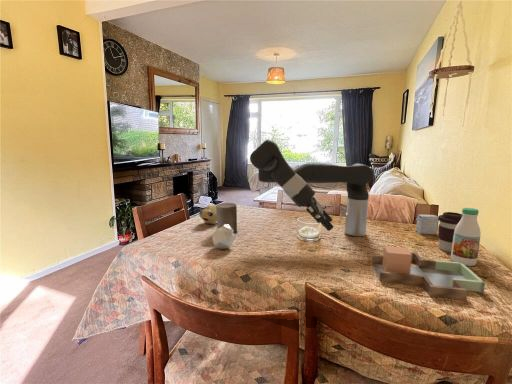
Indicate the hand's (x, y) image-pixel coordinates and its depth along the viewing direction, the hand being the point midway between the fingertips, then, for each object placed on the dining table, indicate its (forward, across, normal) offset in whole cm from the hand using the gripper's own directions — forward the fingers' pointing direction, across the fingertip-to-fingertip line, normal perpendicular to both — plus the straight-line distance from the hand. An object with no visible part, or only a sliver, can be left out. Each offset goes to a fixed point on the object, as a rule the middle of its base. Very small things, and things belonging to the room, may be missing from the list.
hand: (330, 225), depth 95 cm
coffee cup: (+45, -29, +24) cm, 59 cm away
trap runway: (+32, 0, +10) cm, 33 cm away
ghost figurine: (-18, -10, -41) cm, 46 cm away
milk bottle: (+45, -17, +23) cm, 53 cm away
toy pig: (-31, -41, -54) cm, 74 cm away
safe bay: (+39, 0, +17) cm, 42 cm away
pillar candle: (-22, -29, -44) cm, 57 cm away
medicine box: (+44, -50, +22) cm, 70 cm away
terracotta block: (+26, 0, +5) cm, 26 cm away
